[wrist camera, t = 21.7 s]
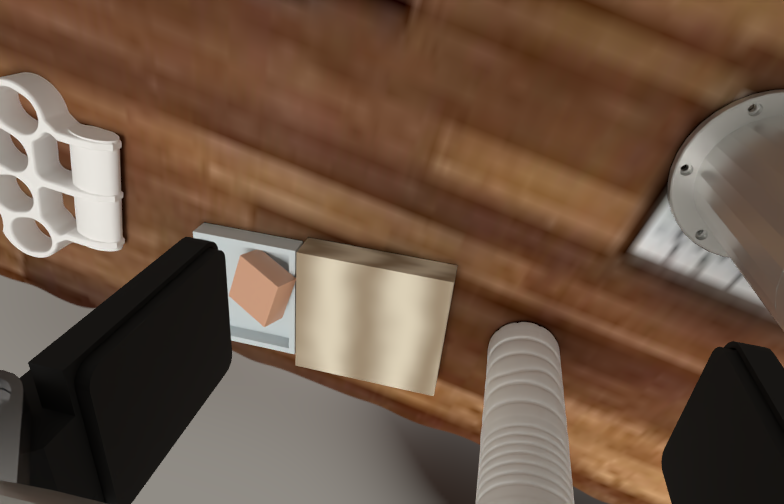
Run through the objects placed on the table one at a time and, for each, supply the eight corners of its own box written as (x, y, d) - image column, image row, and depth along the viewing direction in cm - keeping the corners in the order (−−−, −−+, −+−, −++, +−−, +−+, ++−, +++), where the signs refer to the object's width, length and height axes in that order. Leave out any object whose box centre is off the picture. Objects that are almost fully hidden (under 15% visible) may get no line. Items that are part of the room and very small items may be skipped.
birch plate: (457, 265, 47) (453, 282, 45) (437, 375, 54) (433, 396, 51) (308, 237, 49) (296, 252, 47) (305, 346, 56) (295, 365, 53)
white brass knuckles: (132, 267, 56) (7, 226, 57) (128, 100, 47) (-20, 55, 48) (111, 283, 53) (-20, 239, 54) (102, 109, 44) (-55, 61, 45)
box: (303, 241, 50) (295, 251, 48) (301, 342, 55) (294, 354, 54) (203, 222, 51) (192, 231, 49) (212, 323, 57) (203, 334, 55)
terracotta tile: (296, 278, 49) (278, 287, 47) (282, 317, 51) (264, 327, 49) (259, 248, 50) (240, 255, 48) (247, 287, 53) (228, 295, 51)
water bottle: (552, 380, 51) (575, 682, 30) (484, 369, 52) (458, 652, 31) (570, 305, 47) (612, 594, 25) (496, 294, 48) (476, 562, 26)
